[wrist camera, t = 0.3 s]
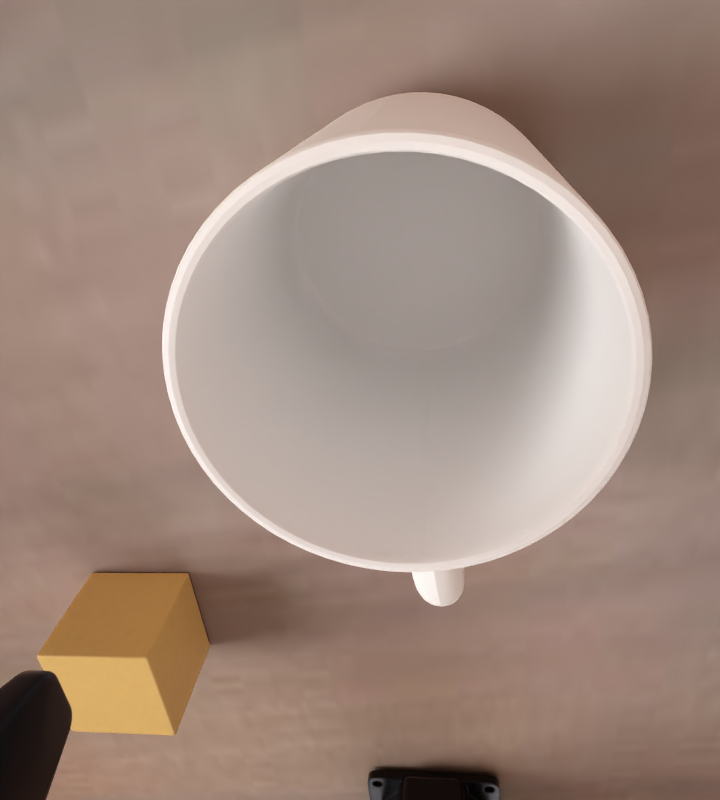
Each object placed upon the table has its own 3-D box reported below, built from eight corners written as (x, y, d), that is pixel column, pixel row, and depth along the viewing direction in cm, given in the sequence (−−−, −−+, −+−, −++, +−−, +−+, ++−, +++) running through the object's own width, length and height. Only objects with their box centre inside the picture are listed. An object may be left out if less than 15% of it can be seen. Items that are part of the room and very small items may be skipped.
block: (210, 645, 30) (175, 736, 26) (119, 644, 31) (72, 732, 27) (188, 572, 28) (146, 658, 24) (91, 572, 28) (35, 655, 25)
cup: (551, 62, 17) (665, 78, 8) (563, 442, 23) (641, 694, 14) (256, 117, 19) (89, 180, 10) (334, 461, 24) (271, 701, 15)
